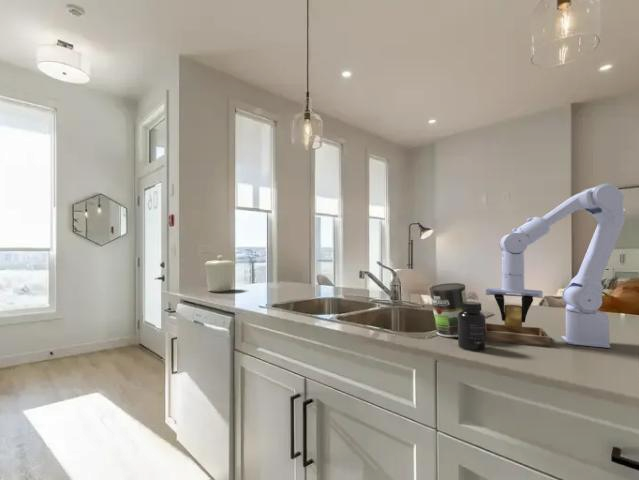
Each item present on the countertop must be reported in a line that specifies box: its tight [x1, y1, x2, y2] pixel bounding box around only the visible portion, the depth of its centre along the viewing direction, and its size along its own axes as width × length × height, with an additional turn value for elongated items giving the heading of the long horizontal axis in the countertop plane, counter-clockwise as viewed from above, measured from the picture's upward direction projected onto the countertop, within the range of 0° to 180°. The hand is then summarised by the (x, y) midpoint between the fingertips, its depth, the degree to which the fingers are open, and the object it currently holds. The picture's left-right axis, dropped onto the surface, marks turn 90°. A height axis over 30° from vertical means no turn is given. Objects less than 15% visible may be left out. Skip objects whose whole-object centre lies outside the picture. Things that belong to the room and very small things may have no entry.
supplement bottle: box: [457, 300, 487, 352], centre depth 93 cm, size 7×7×12 cm
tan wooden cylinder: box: [504, 304, 523, 329], centre depth 102 cm, size 4×4×6 cm
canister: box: [203, 254, 236, 293], centre depth 208 cm, size 18×18×21 cm
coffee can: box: [429, 282, 468, 338], centre depth 106 cm, size 10×10×14 cm
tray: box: [486, 322, 551, 348], centre depth 102 cm, size 16×12×3 cm
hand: (513, 321), depth 102 cm, fingers closed on tan wooden cylinder, 4 cm apart
